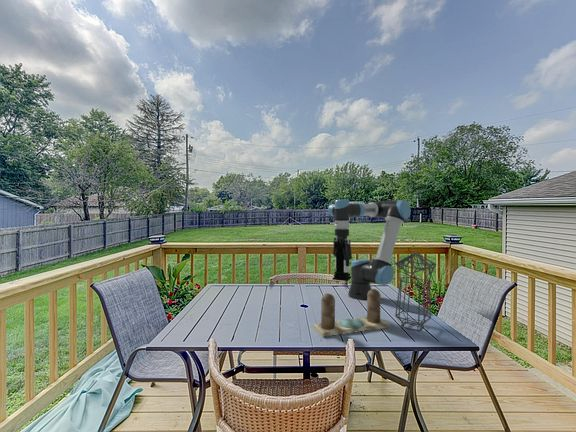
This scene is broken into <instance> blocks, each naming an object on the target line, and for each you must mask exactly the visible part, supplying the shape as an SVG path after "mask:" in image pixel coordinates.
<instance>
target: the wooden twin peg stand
mask: <svg viewBox="0 0 576 432" xmlns="http://www.w3.org/2000/svg"><path fill="white" fill-rule="evenodd" d="M335 302H336V299H335V296H334V295H333V294H331V293H325V294H323V295H322V297H321V303H320V304H321V311H320V312H321V314H320V315H321V318H320V319H321V321H320V322H321V323H313V325H312V327H313V330H314V331H315V332H316V333H317V332H318V333H319V334H318V333H317V334H318V335H320V337H322V338H326V337H325V336H329V337H333V336H332V335H336V336H339V335H338V334H342V335H344V334H343V333H349V332H355V331H363V330H369V331H373V330H372V329H376V330H383V329H389V328H390V323H389V322H388V321H386V320H385V319H382V317H381V293H380V291H379V290H377V289H375V288H371V290H369V292H368V294H367V299H366V303H367V304H366V316H365V317H361V318H344V319H342V320H337V321H336V303H335ZM382 328H383V329H382ZM363 332H364V331H363ZM349 334H350V333H349Z"/></svg>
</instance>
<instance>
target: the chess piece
mask: <svg viewBox="0 0 576 432" xmlns="http://www.w3.org/2000/svg"><path fill="white" fill-rule="evenodd" d="M332 243H333V247H334V248H336V252H335V254H336V270H335V271H334V274H333V277H332V280H333V281H344V282H348V281H349V280H350V279H351V273H350V271H349V272H344V259H345V257H344V253H343V249H342V248H343V247H344V248H345V242H344V244H343V245H341V244H337V241H336V242H334V241H333V242H332ZM342 246H343V247H342ZM345 249H346V248H345Z"/></svg>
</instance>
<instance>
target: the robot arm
mask: <svg viewBox="0 0 576 432" xmlns="http://www.w3.org/2000/svg"><path fill="white" fill-rule="evenodd" d="M411 212H412V211H411V207H410V204H409V202H408V201H406V200H402V199H398V200H395V199H394V200H381V201H374V202H373V201H371V202H369V203H350V200H349V199H336V200H335V201H334V203H332V204H329V205H328V207H327V213H328V215H329V216H330V217H334V228H335V229H334V236H335V237H333V242H336V241H337V244H341V245H343V244H344V242H345V248H346V249H345V248H344V247H343V246H342V247H343V248H342V249H343V253H344V257H345V259H344V272H349V273H350V272H351V273H350V276H351V278H350V279H351V281H350V286H349V289H348V293H347V294H348V297H349V298H352V299H356V300H367V294H368V292H369V290H371V289H372V286H371V283H372V284H376V285H378V286H379V285H381V286H387V285H388V284H390V283H391V282H393V280H394V279H393V278H394V276H395V270H394V268H393V267H392V265H393V264H392V262H391V260H392V256H393V253H394V249H395V246H396V242H397V238H398V236H399V231H400V228H401V225H403V224H404V223H405V220H407V219H409V218H410V216H411ZM365 216H367V217H371V218H379V219H380V218H381V219H384V221H385V224H384V227H383V232H382V235H381V239H380V241H379V245H378V248H377V252H376V255H375V257H373V258H372V260H371V259H364V258H363V259H354V260H352V259H353V256H352V255H353V254H352V246H351V242H352V241H351V240H350V239H348V237H349V236H350V229H349V228H350V218H360V217H365ZM332 247H333V249H332V255H333V256H334V269H336V254H335V252H336V248H334V246H332ZM350 260H352V261H351V266H350Z"/></svg>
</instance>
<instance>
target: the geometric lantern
mask: <svg viewBox="0 0 576 432" xmlns="http://www.w3.org/2000/svg"><path fill="white" fill-rule="evenodd" d="M412 259H413V260H412ZM415 259H416V261H417V262H415ZM419 261H420V262H419ZM427 261H428V262H427ZM405 262H407V263H406V264H405ZM429 262H430V263H429ZM409 264H410V265H411V266H410V265H409ZM415 264H417V266H416V265H415ZM394 265H396V267H398V269H399V271H398V272H399V273H398V274H399V277H398V278H399V285H398V293H397V300H396V308H395V314H394V316H395V317H396V318H397V320H398V321H400V322H401V325H400V327H401V328H403V329H407V330H413V331H417V332H419V331H421V330H422V329H423V327H424V325H425V324H426V323H427V322H428V321H430V320H431V319H432V305H431V278H432V275H433V272H434V270H435V269H436V266H437V264H436V263H435V262H434V261H432V260H430V259H429V258H427V257H425V256H423V255H422V254H421V253H420V252H419V253H418V252H416V251H415V252H412V253H411V254H409V255H407V256H405V257H404V258H402V259H400V260H399V261H396V262H394ZM420 265H421V266H423V267H419V266H420ZM407 268H409V269H411V271H407ZM413 269H414V271H413ZM401 270H403V273H404V274H403V277H402V275H401ZM425 270H428V274H427V275H426V272H425ZM421 271H423V273H424V275H425V279H423V278H417V276H416V273H418V272H421ZM407 274H410V276H408V275H407ZM428 276H429V278H428ZM403 279H405V280H403ZM408 279H409V281H408ZM412 279H414V280H416V282H412ZM419 280H421V281H423V282H422V283H420V282H419ZM403 283H404V284H405V285H404V292H403V293H404V295H403V301H401V300H402V287H403V286H402V285H403ZM408 283H409V286H408V299H407V310H405V301H406V294H407V293H406V292H407V284H408ZM412 284H415V285H418V308H417V309H418V312H415V311H411V310H409V309H410V299H411V298H410V297H411V296H410V295H411V285H412ZM425 285H427V286H426V287H427V288H426V290H425ZM421 286H422V291H423V292H422V294H423V295H422V299H423V300H422V302H423V305H422V306H423V307H422V308H423V312H422V313H420V312H421V309H420V307H421ZM425 291H426V299H425ZM425 300H426V302H425ZM401 302H403V303H402V309H401ZM425 303H426V304H425ZM425 305H426V307H425ZM428 307H429V308H428ZM428 310H429V311H428ZM405 312H406V314H405ZM428 312H429V315H428ZM409 313H411V314H415V315H417V319H416V318H415V319H414V318H410V317H408V314H409ZM400 314H403V316H404V317H401V315H400ZM420 315H421V316H423V319H422V320H421V318H420V317H421V316H420ZM426 317H427V319H426ZM405 324H406V325H408V326H409V325H410V326H413V327H417V329H414V328H411V327H410V328H409V327H408V326H407V327H405Z"/></svg>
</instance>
